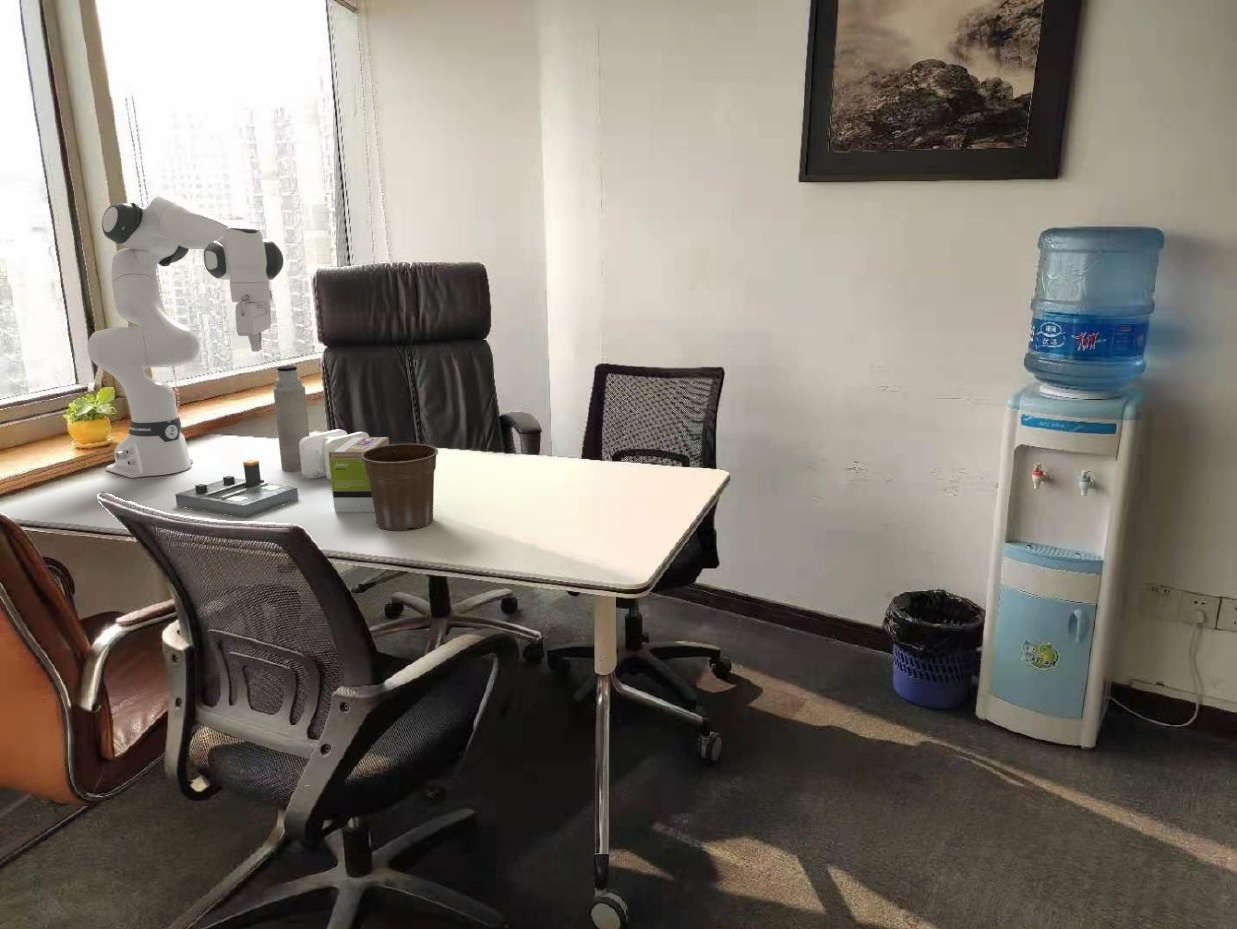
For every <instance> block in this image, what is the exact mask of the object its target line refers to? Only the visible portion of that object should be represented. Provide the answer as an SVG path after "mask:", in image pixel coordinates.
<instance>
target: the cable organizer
mask: <svg viewBox="0 0 1237 929" xmlns="http://www.w3.org/2000/svg"><path fill="white" fill-rule="evenodd" d="M350 437H351V438H363V437H370V435H369V434H368V433H367V432H364V431H357V432H353V433H349V434H348V432H347V431H346V430H344V429H333V430H328V431H324V432H321V433H316V434H312V435H310V436H307V437H304V438H302V439H301V440H300V442H299V450H300V460H301V470H300V471H301V475H302V476H303V477H305V478H308V479H313V480H317V479H319V478H323V477H324V476H325V475H326V478H327V480H329V481H331V474H330V465H329V452H330V451H332V450H333V449H334V448H336V447H337V446H338V445H340V444H341V443H343V442H344V441H345V440H347V439H348V438H350Z"/></svg>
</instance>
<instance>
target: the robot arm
mask: <svg viewBox="0 0 1237 929" xmlns="http://www.w3.org/2000/svg"><path fill="white" fill-rule="evenodd" d="M101 230H102V231H103V232H102V233H103V235H104V236H105V237H106V238H108V239H109V240H110V241H112V242H114V243H115V244H118V245H123V246H124V247H125V248H121V249H120V250H117V252H115V253H114V255H113V257H112V261H111V262H112V263H111V268H110V269H111V272H110V273H111V276H110V277H111V288H112V295H113V300H114V301H113V302H114V308H115V311H116V312H117V314H118V315H119V316H120V317H121V318H123V320H125V321H127V322H129V323H132V324H133V325H136V326H124V327H123V326H119V327H118V326H117V327H116V326H115V327H110V328H104V329H101V330H97V331H93V333H92V334H91V335H90V337H89V339H88V342H87V353H88V356H89V358H90V360H91V361H92V362H93V363H94V365H95V366H97V367H99V368H100V369H102V370H104V371H105V372H107V373H109V374H110V375H111V376H112V377H114V378H115V380H117V382H118V383H119V384H120V385H121V387H122V388H123V391H124V393H125V396H126V398H127V402H128V407H129V412H130V417H131V420H130V421H129V422H125V424H128V425H126V426H125V427H126V428H128V427H129V428H128V435H127V436H126V437H125V438H124V439H123V440H122V441H121V442H120V443H119V444H118V445H117V446H116V447H115V449H114V461H115V462H114V463H112V464H109V465H107V466H106V469H105V471H107V472H111V473H115V474H118V475H121V476H124V477H127V478H133V479H134V478H142V477H153V476H164V475H172V474H176V473H180V472H184V471H186V470H189V469H191V467H192V464H193V463H194V460H193V458H191V457H190V455H189V450H188V446H187V442H186V439H185V438H186V437H185V435H184V434H183V433H182V432H181V431H182V422H181V419H180V416H178V408H177V401H176V393H175V390H174V389H173V388H172V386H170V385H169V384H167V382H166V383H165V382H164V381H160V380H158V379H155V378H152V377H150V376H148V375H147V374H146V372H145V371H146V370H147V369H151V368H153V369H154V368H168V367H178V366H181V365H186V364H189V363H193V362H194V361H195V359H196V358H197V357H198V354H199V350H200V343H199V338H198V337H197V335H196V334H195V332H194V331H193V330H192V329H191V328H190V327H188V326H186V325H183V324H182V323H180V322H178V321H177V320H175V319H174V318H173V317H172V316H171V315H170V314H169V313H168V311H166V309H165V306H164V303H163V301H162V297H161V292H160V286H159V280H158V276H157V267H158V265H160V266H161V267H169V266H170V265H171V264H173V263H176V262H178V261H181V259H183V258H185V256H186V255H187V254H188V253H189V251H190V250H204V251H203V261H204V266H205V267H204V268H206V271H207V272H208V273H209V274H210V276H212V277H214V278H215V279H217V280H218V279H219V280H225V281H226V280H228V281H229V287H230V288H229V289H230V298H231V299H230V300H231V302H232V303H236V304H235V312H234V313H235V326H236V333H237V335H238V336H239V337H248V341H249V344H250V347H251V351H252V352H254V353H255V352H256V353H257V352H260V351H261V350H262V349H263V348H262V347H263V346H262V341H263V334H262V333H263V332H264V331H267V330H268V329H271V324H272V323H271V322H272V321H271V320H272V318H271V316H272V315H271V314H272V313H271V312H272V311H271V300H272V299H273V295H272V294H273V293H272V291H271V289H270V282H269V281H270V280H274V279H275V278H276V277H277V276H278V275H279V274H280V272H281V271H282V269H283V266H284V257H283V256H284V255H283V253H282V251H281V249H280V248H279V247H278V245H277V244H276V243H275V242H274V241H272V240H271V239H268V238H266V239H263V235H262V232H261V230H260V229H259V228H257V227H256V226H255V227H254V226H251V225H244V224H235V225H234V224H231V223H228V222H226V221H224V220H221V219H219V218H217V217H215V216H212V215H211V214H209V213H207V212H205V211H203V210H202V209H200V208H198V207H196V206H195V205H193V204H192V203H190V202H189V201H187V200H186V199H183V198H181V197H179V196H176V195H173V194H167V193H164V194H159V195H157V196H156V197H155V196H154V198H153V199H152V200H151V202H150V203H149V205H148V206H147V207H143V206H142V207H141V206H140V205H139V204H138V203H137V202H131V203H121V202H119V203H114V204H112V205H111V206H108V207H107V208H106V210H105V211H104V213H103V216H102V220H101Z"/></svg>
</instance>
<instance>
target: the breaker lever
mask: <svg viewBox="0 0 1237 929" xmlns="http://www.w3.org/2000/svg"><path fill="white" fill-rule="evenodd" d="M242 465H243V470H244V478H245V479H244V480H246V482H244V483H243V485H244V486H255V485H258V484H261V483H265V480H264V479H261V471H260V461H259V460H255V459H254V460H253V459H249V460H246V461H243V462H242Z"/></svg>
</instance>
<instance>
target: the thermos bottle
mask: <svg viewBox="0 0 1237 929" xmlns="http://www.w3.org/2000/svg"><path fill="white" fill-rule="evenodd" d="M276 369H277V370H276V371H278V373H277V378H275V383H274V385H275V387H273V390H272V391H273V397H274V400H273V401H274V409H275V417H276V426H277V435H278V446H279V453H280V454H279V455H280V463H281V464H280V465H281V469H282V471H285V470H286V472H296V471H297V472H298V471H299V472H301V471H302V470H301V460H300V450H299V442H300V440H301V439H302V438H304V437H307V436H311V435H310V430H309V416H308V408H307V407H308V406H307V397H306V394H307V393H306V387H305V385H303V384H302V382H303V381H302V378H301V377H299V376H298V371H297V370H298V368H297V366H295V365H283V366H279V367H277V368H276Z"/></svg>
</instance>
